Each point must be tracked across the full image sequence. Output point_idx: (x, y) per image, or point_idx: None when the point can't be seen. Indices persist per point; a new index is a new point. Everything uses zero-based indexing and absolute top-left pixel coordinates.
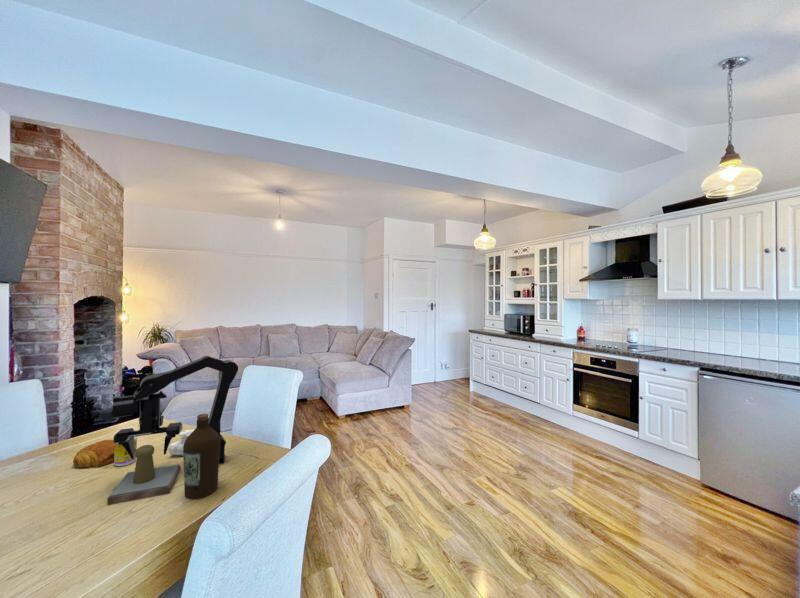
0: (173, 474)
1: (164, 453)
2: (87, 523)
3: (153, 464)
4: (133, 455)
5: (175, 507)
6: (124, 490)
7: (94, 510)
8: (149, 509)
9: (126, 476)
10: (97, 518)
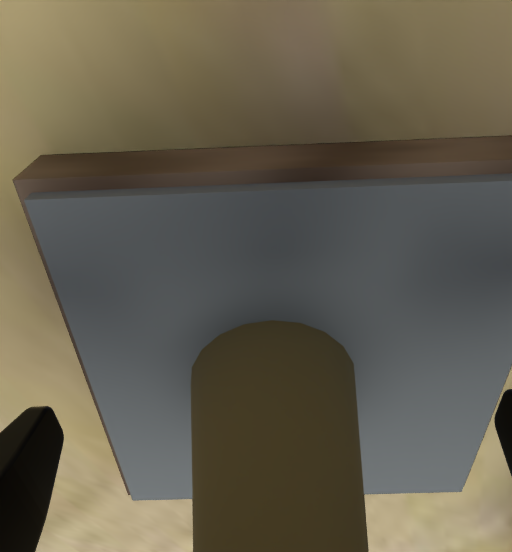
0: (500, 379)
1: (509, 444)
2: (139, 537)
3: (363, 489)
4: (40, 491)
5: (474, 537)
6: None
7: (100, 477)
8: (366, 525)
9: (73, 291)
10: (160, 523)
